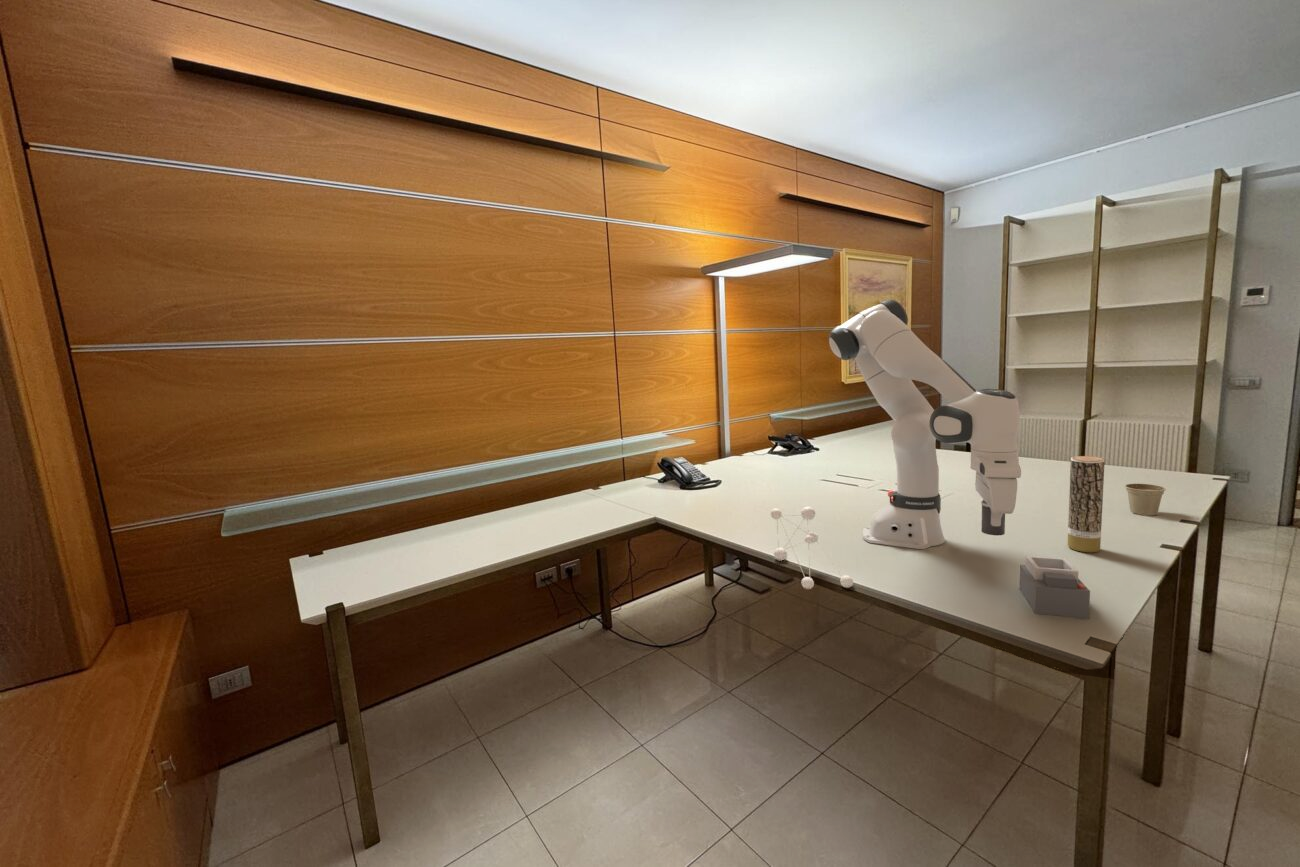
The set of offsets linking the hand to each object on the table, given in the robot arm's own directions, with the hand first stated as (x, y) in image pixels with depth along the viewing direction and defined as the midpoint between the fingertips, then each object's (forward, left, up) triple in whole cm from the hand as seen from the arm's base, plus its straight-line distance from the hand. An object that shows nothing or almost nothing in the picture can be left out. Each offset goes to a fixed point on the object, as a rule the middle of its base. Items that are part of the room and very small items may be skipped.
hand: (992, 521), depth 115 cm
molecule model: (-41, +1, -17) cm, 45 cm away
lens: (0, 0, -3) cm, 3 cm away
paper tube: (+28, +34, -17) cm, 47 cm away
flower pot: (+55, +72, -17) cm, 92 cm away
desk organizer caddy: (+11, -3, -17) cm, 20 cm away
